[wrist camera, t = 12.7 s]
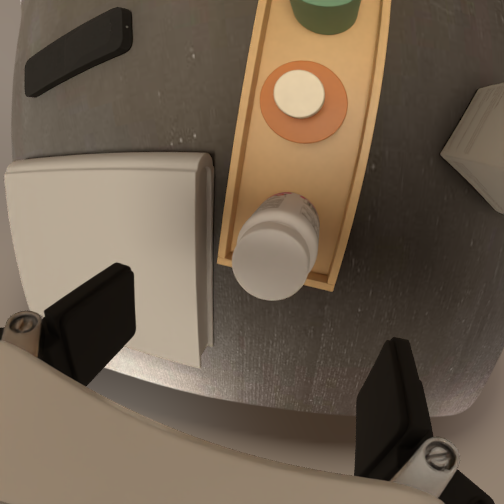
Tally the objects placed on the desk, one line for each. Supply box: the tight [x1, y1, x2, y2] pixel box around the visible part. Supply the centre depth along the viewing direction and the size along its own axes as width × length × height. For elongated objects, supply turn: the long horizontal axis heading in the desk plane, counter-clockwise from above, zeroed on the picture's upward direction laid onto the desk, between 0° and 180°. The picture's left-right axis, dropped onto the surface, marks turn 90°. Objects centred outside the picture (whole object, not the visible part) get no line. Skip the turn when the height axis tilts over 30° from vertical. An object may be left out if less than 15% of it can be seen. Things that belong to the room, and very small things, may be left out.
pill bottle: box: [232, 192, 320, 301], centre depth 20 cm, size 5×5×8 cm
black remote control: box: [25, 7, 132, 97], centre depth 22 cm, size 5×2×15 cm
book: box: [4, 152, 214, 368], centre depth 27 cm, size 18×4×24 cm
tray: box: [217, 0, 391, 292], centre depth 20 cm, size 25×9×2 cm, turn 171°
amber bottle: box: [260, 60, 348, 144], centre depth 16 cm, size 5×5×8 cm
